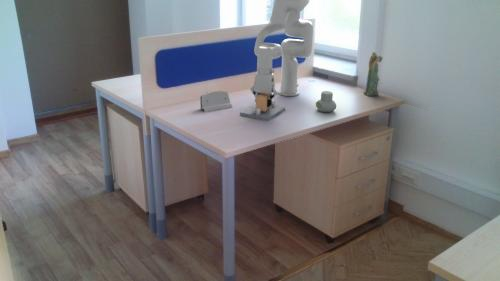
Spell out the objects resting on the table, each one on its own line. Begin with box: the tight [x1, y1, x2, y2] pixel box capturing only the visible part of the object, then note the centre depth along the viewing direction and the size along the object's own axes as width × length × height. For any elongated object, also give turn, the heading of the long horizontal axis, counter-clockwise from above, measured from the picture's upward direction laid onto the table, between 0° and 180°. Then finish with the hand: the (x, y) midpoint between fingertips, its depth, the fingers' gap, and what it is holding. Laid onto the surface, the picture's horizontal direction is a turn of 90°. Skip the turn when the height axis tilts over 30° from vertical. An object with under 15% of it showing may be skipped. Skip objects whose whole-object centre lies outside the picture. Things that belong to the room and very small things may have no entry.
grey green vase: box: [315, 90, 337, 113], centre depth 252 cm, size 11×8×10 cm
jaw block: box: [255, 93, 268, 111], centre depth 247 cm, size 12×5×7 cm, turn 165°
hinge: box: [199, 90, 233, 113], centre depth 253 cm, size 17×5×10 cm, turn 121°
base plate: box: [239, 99, 286, 122], centre depth 248 cm, size 20×16×4 cm
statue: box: [363, 51, 383, 97], centre depth 278 cm, size 7×8×25 cm
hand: (263, 104), depth 247 cm, fingers closed on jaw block, 5 cm apart
